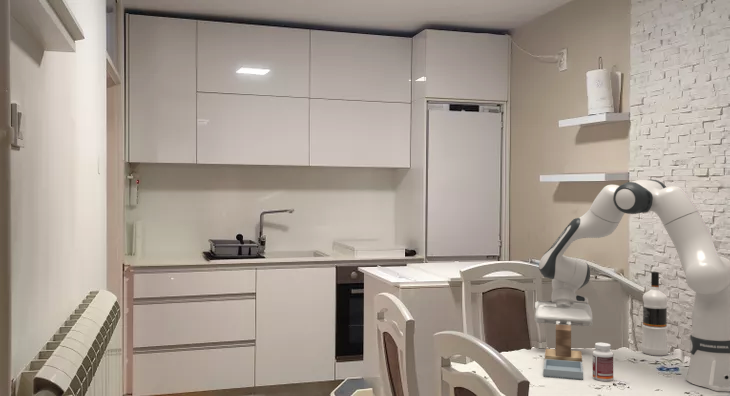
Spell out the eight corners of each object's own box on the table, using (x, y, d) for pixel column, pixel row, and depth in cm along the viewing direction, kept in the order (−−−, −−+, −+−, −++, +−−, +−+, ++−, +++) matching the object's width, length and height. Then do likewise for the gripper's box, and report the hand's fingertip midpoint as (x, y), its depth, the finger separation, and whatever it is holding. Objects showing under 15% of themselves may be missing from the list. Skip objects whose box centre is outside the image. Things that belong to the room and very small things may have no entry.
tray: (582, 369, 211) (582, 361, 211) (583, 380, 198) (583, 372, 198) (544, 366, 214) (544, 358, 214) (543, 376, 202) (543, 369, 202)
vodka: (666, 357, 226) (666, 274, 225) (638, 354, 231) (638, 272, 231) (670, 352, 233) (670, 271, 233) (643, 348, 239) (644, 269, 238)
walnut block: (570, 350, 221) (570, 325, 221) (571, 357, 213) (571, 330, 213) (556, 349, 223) (556, 324, 223) (555, 356, 214) (555, 329, 214)
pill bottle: (617, 379, 199) (617, 344, 199) (605, 383, 196) (605, 347, 196) (600, 374, 204) (600, 341, 204) (588, 378, 201) (588, 343, 201)
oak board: (581, 361, 221) (581, 351, 221) (582, 368, 211) (582, 358, 211) (545, 358, 225) (545, 348, 225) (544, 365, 215) (544, 355, 215)
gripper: (534, 295, 237) (533, 326, 228) (592, 298, 231) (593, 330, 221) (535, 305, 241) (533, 336, 232) (591, 308, 235) (592, 340, 226)
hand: (563, 333), depth 227 cm, fingers closed
